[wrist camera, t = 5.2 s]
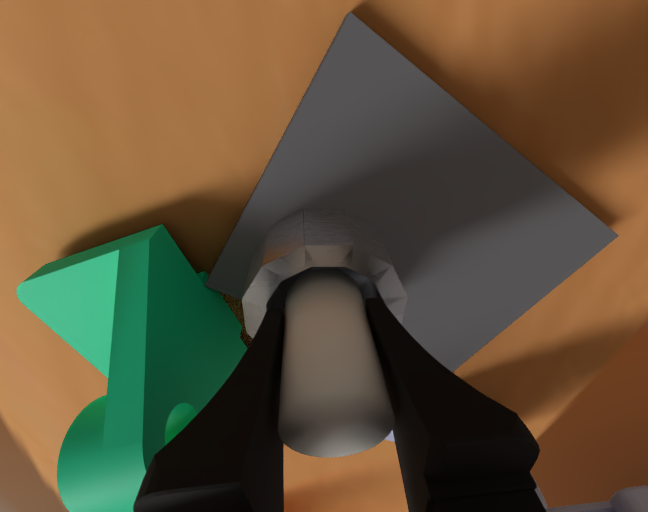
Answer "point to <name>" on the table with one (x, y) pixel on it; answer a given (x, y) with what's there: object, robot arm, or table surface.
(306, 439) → the plug cap
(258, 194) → the mat
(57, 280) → the camera mount
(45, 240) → the table surface
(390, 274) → the sleeve
